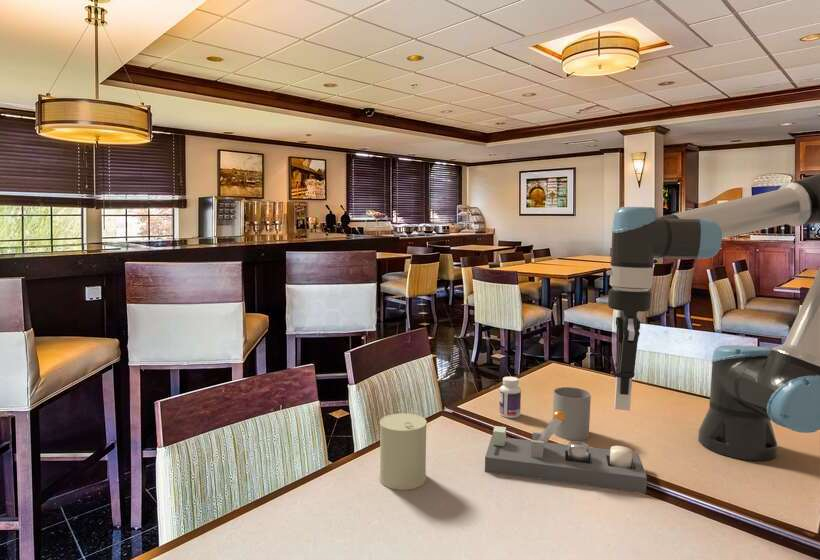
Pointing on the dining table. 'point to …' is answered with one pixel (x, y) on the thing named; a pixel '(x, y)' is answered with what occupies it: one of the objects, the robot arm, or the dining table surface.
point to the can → (402, 451)
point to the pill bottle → (510, 398)
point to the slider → (499, 436)
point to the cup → (572, 412)
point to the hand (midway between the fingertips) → (622, 408)
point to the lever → (552, 426)
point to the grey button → (578, 452)
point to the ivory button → (620, 457)
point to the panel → (563, 464)
